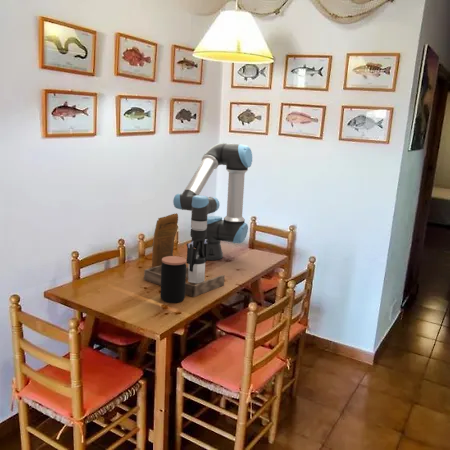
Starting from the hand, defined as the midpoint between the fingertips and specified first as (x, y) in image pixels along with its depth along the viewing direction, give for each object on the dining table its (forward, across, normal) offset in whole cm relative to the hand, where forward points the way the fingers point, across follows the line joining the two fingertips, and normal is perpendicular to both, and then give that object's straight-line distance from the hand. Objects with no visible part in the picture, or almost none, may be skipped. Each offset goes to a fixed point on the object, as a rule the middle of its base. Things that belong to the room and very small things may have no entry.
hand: (196, 276), depth 222 cm
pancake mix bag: (+4, -9, -30) cm, 32 cm away
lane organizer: (+4, +2, -6) cm, 7 cm away
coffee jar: (+4, +22, +5) cm, 23 cm away
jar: (+3, 0, 0) cm, 3 cm away
